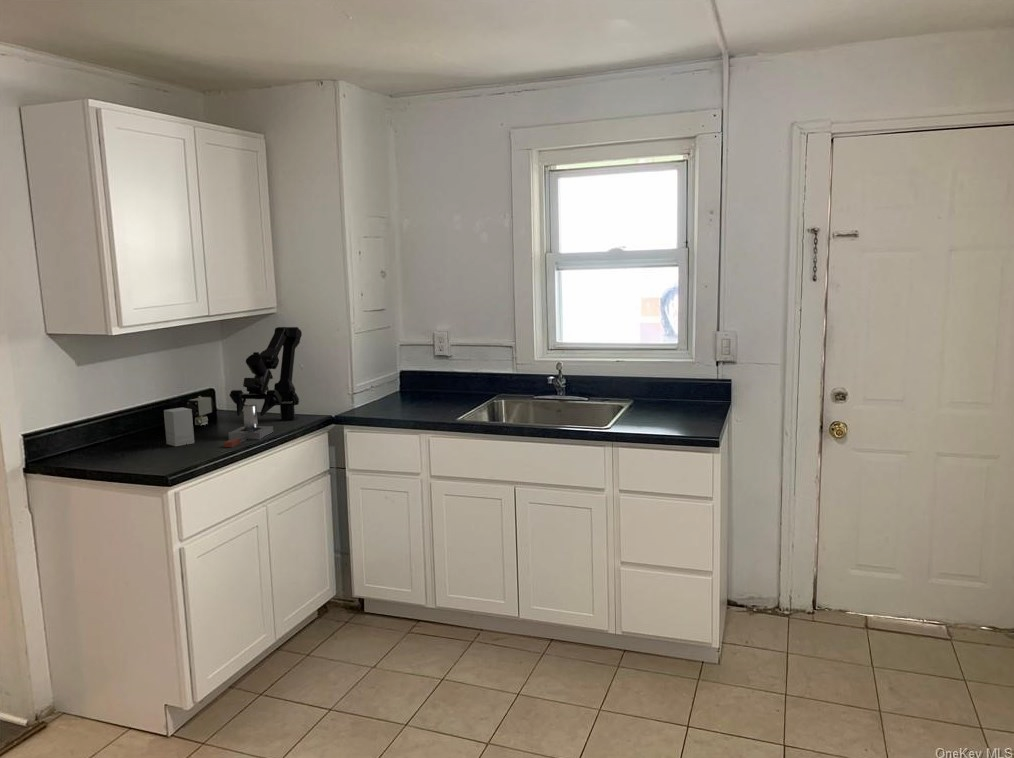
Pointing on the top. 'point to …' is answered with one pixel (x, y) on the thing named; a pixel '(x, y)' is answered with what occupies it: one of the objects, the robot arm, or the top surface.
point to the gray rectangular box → (247, 435)
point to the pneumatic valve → (200, 408)
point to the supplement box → (179, 426)
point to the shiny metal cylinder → (250, 417)
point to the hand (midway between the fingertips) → (249, 415)
